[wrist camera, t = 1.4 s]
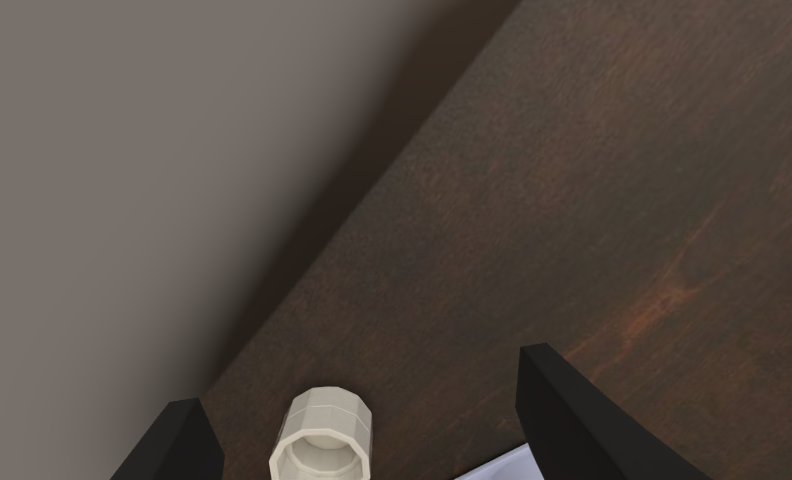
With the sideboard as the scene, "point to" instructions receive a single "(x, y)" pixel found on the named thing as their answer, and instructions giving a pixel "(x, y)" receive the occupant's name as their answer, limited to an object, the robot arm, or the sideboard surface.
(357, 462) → the bowl
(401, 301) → the sideboard surface
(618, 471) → the robot arm
